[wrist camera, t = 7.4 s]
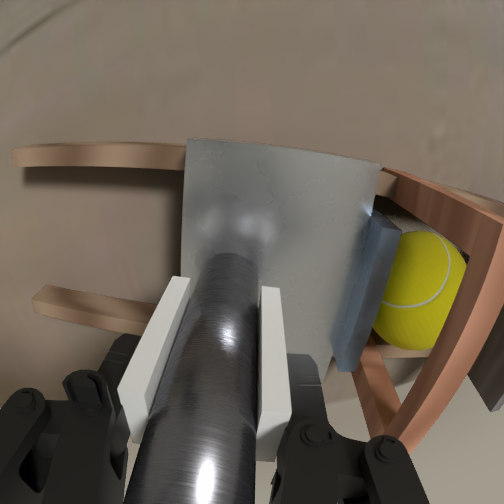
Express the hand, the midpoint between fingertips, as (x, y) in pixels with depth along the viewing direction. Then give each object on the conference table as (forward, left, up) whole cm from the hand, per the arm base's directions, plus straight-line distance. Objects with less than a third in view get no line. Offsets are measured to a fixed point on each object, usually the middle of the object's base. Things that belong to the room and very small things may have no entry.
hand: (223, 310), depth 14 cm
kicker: (+2, 0, -7) cm, 7 cm away
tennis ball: (+11, 0, -7) cm, 13 cm away
